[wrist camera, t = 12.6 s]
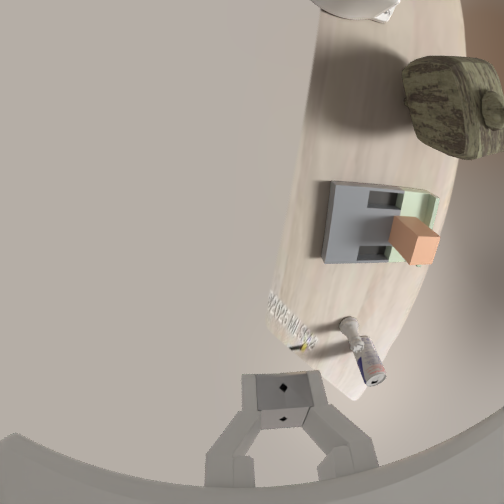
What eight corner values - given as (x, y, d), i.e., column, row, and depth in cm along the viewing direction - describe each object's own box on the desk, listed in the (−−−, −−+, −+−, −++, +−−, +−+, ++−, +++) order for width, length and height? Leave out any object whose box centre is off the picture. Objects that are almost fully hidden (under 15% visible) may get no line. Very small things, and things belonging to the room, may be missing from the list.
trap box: (321, 256, 48) (327, 270, 44) (330, 180, 41) (340, 188, 37) (410, 255, 49) (420, 266, 45) (426, 190, 42) (439, 198, 38)
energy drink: (349, 351, 63) (362, 388, 52) (353, 337, 60) (368, 376, 49) (368, 347, 63) (383, 383, 52) (372, 333, 60) (389, 371, 50)
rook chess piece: (340, 332, 59) (350, 358, 52) (336, 320, 57) (346, 347, 50) (358, 325, 58) (369, 350, 51) (355, 313, 56) (367, 338, 49)
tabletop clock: (439, 136, 37) (546, 178, 15) (402, 144, 38) (515, 193, 16) (422, 60, 30) (535, 59, 8) (381, 63, 31) (499, 49, 10)
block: (388, 241, 44) (409, 264, 37) (394, 215, 42) (418, 236, 35) (409, 241, 45) (431, 264, 38) (415, 216, 42) (440, 236, 35)
